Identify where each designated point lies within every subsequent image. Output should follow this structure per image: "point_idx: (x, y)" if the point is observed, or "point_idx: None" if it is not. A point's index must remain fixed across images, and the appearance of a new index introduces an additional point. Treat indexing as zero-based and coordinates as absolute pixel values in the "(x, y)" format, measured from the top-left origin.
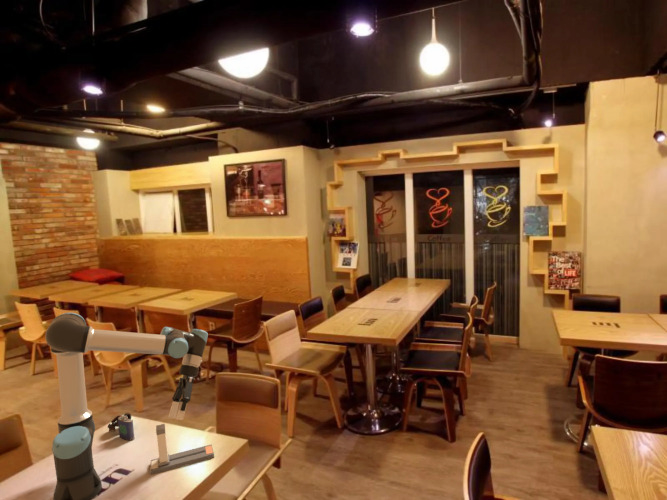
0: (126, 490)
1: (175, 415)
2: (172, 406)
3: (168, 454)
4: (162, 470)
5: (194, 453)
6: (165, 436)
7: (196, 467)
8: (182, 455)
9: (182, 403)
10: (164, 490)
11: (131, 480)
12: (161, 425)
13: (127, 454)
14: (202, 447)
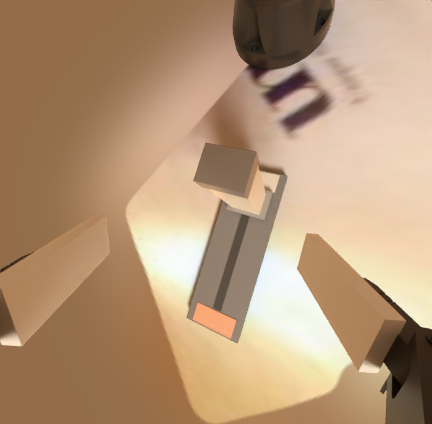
0: (217, 116)
1: (304, 278)
2: (347, 285)
3: (264, 218)
4: None
5: (226, 280)
6: (219, 193)
7: (184, 260)
8: (243, 251)
9: None
10: (161, 179)
11: (246, 128)
12: (235, 174)
13: (404, 130)
14: (240, 313)
